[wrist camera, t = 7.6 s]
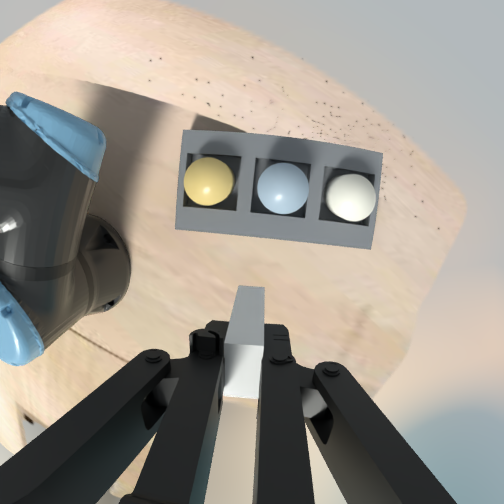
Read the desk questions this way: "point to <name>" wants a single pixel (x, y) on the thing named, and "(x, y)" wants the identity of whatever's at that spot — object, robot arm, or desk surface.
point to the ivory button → (350, 197)
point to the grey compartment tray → (246, 194)
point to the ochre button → (209, 181)
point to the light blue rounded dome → (283, 188)
